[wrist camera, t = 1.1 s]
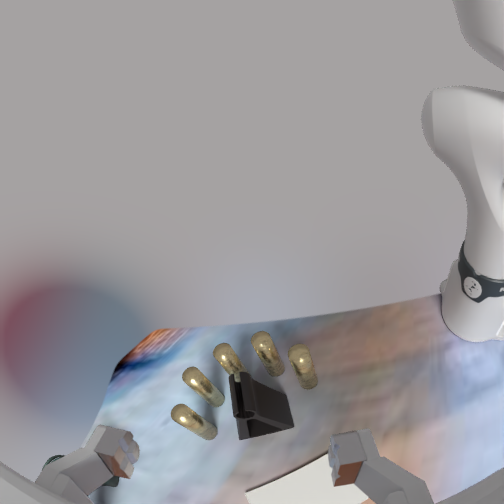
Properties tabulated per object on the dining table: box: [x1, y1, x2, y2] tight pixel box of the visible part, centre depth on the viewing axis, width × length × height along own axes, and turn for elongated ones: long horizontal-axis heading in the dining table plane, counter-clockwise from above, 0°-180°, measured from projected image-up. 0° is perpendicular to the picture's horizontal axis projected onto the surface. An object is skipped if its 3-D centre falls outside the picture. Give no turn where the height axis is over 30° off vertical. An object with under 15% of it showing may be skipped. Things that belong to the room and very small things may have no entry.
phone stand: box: [229, 372, 294, 440], centre depth 37 cm, size 9×6×12 cm, turn 98°
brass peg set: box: [171, 331, 318, 440], centre depth 42 cm, size 22×10×10 cm, turn 113°
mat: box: [245, 454, 369, 504], centre depth 27 cm, size 16×10×1 cm, turn 114°
